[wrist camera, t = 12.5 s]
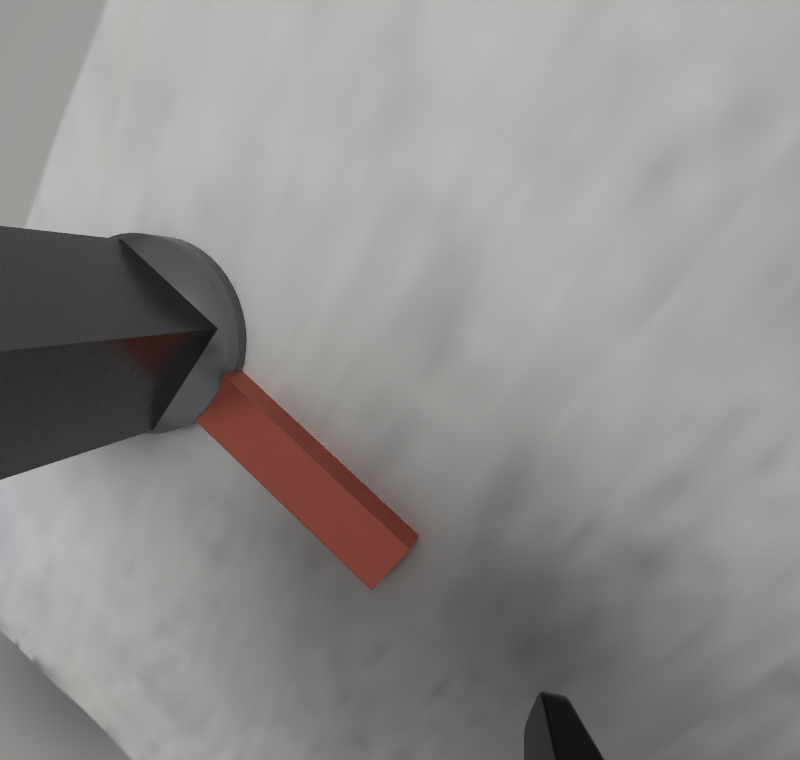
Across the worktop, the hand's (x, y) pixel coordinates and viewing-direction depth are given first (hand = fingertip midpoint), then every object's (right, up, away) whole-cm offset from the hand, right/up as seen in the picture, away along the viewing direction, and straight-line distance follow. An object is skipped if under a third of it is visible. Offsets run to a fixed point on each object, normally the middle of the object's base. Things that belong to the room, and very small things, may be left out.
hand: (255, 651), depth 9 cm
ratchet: (-4, +3, +14) cm, 15 cm away
